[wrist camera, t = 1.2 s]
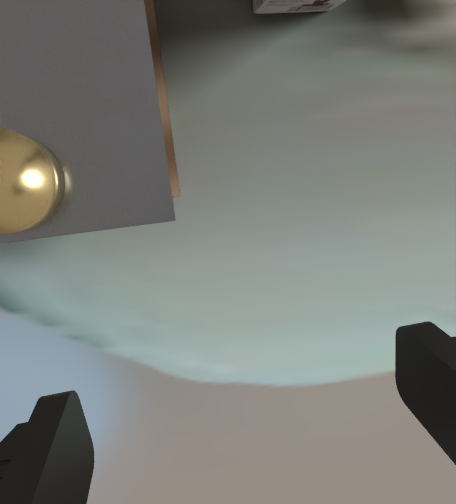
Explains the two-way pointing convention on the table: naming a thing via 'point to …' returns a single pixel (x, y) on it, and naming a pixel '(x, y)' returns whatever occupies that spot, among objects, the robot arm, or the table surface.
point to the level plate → (79, 120)
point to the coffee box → (293, 6)
